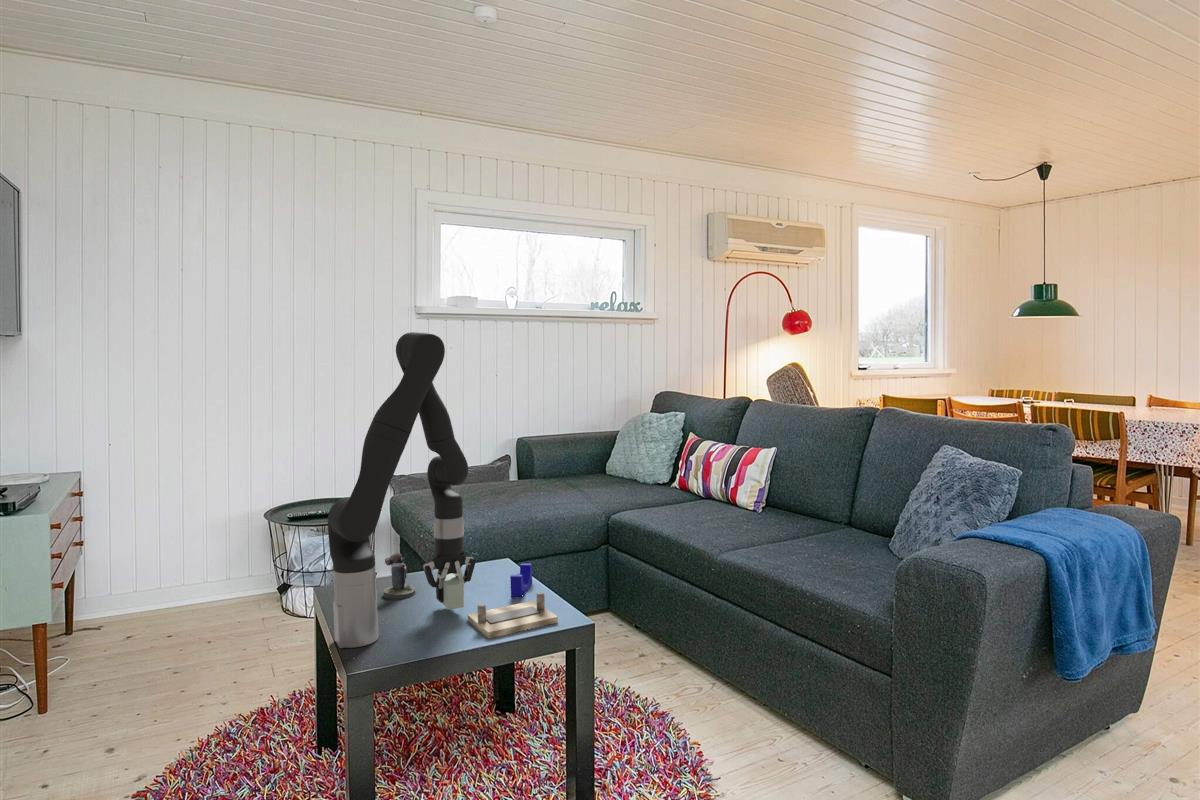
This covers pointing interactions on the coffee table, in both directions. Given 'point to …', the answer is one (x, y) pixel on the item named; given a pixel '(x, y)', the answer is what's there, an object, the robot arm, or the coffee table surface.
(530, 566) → the blue piece
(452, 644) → the coffee table surface
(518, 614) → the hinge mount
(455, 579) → the door block
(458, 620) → the coffee table surface
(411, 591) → the figurine
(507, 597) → the coffee table surface
